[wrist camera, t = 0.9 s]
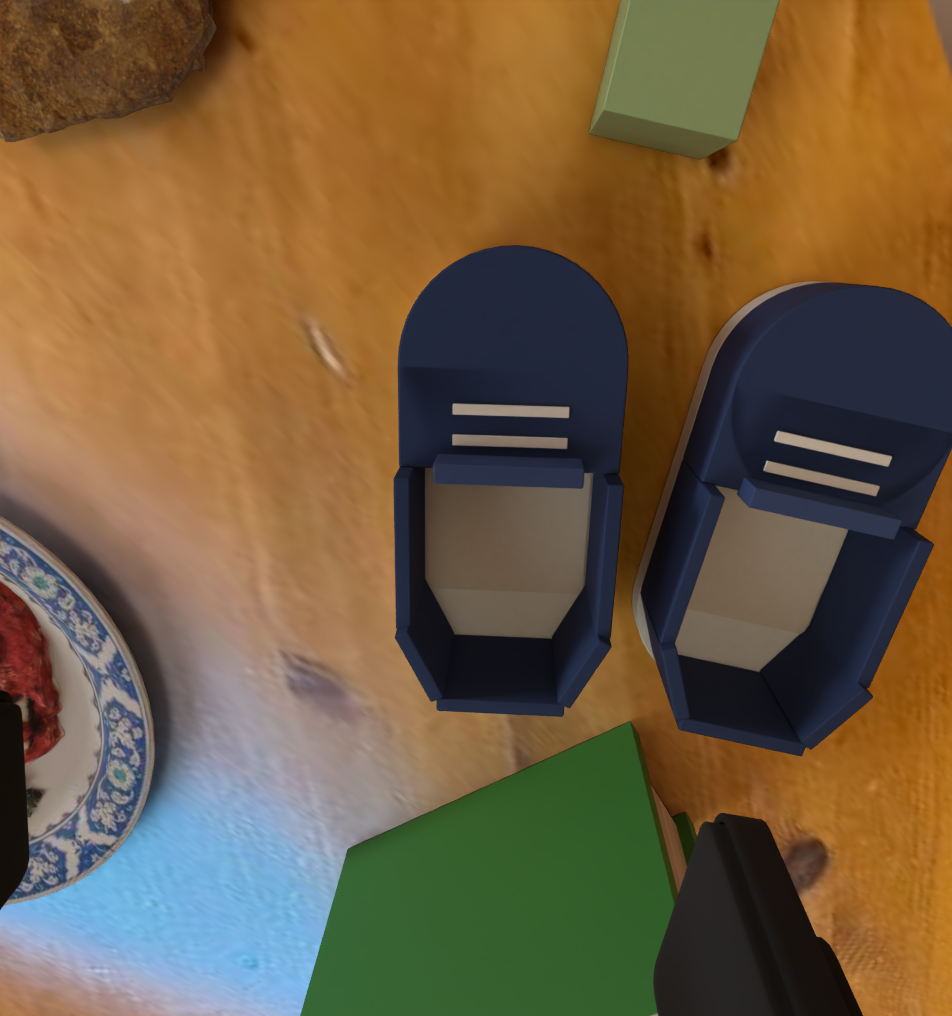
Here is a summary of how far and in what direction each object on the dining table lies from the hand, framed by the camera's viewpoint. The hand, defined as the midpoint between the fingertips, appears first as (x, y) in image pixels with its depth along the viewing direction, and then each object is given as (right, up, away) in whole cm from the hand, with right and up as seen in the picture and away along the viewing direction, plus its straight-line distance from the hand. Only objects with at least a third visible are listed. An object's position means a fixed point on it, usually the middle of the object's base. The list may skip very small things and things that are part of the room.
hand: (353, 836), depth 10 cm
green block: (+9, +21, +19) cm, 29 cm away
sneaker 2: (+15, +5, +24) cm, 28 cm away
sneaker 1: (+3, +6, +24) cm, 25 cm away
